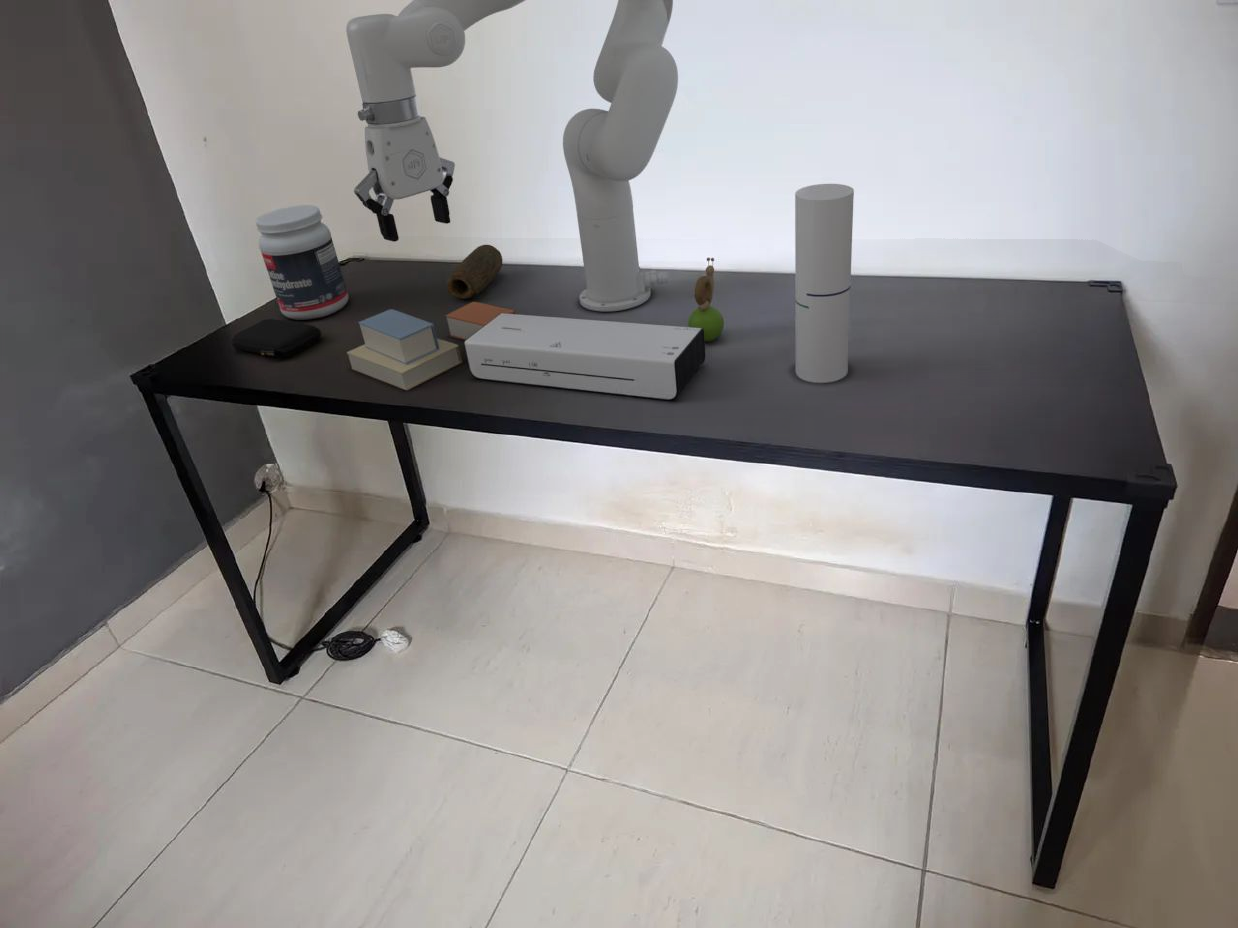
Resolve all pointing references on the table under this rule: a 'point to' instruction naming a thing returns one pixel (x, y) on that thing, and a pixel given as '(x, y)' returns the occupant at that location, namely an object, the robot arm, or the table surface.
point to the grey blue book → (399, 336)
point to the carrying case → (276, 338)
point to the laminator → (586, 355)
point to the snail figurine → (706, 307)
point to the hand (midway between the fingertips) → (417, 231)
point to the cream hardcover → (403, 373)
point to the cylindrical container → (822, 281)
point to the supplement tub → (301, 262)
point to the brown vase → (475, 272)
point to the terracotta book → (472, 318)
